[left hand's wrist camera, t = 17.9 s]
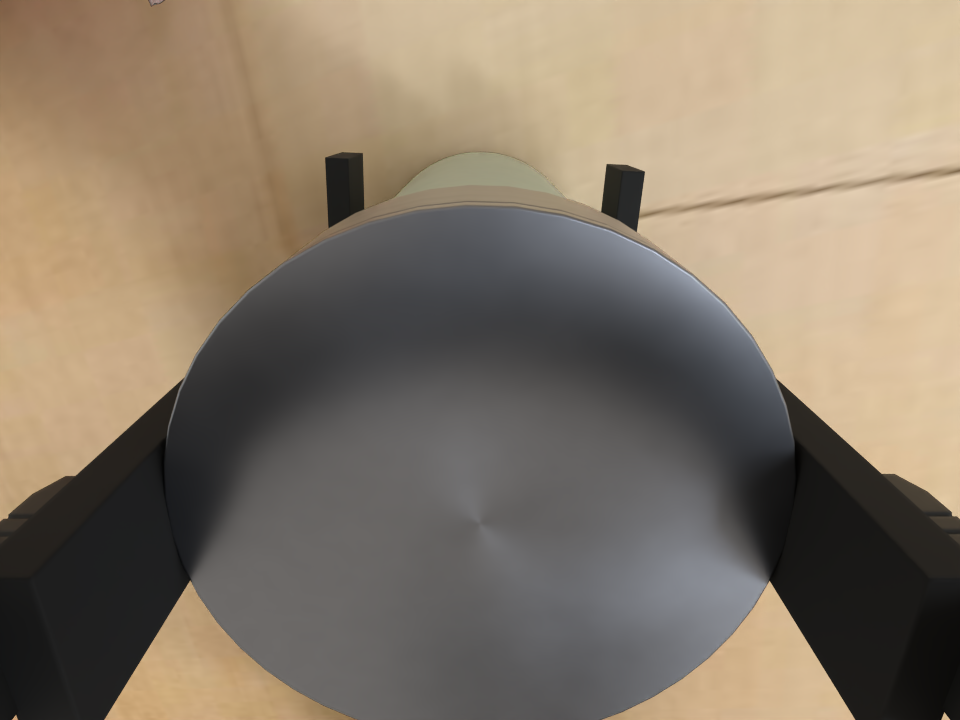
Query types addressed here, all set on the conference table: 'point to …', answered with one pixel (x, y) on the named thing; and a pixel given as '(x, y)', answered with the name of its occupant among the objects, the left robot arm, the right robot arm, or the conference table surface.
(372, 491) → the lid
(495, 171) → the jar
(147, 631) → the left robot arm
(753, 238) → the conference table surface
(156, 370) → the conference table surface
